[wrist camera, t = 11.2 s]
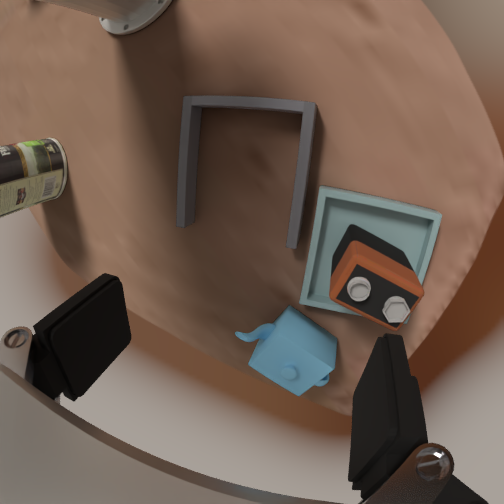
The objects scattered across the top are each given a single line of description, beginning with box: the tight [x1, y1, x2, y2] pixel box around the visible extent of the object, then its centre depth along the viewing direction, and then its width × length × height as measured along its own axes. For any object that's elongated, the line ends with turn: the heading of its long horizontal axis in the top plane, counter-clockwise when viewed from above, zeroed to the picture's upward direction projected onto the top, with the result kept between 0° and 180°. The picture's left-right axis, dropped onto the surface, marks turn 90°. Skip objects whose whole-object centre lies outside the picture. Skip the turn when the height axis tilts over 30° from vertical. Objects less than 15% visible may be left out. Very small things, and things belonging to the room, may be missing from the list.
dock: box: [176, 96, 317, 249], centre depth 29 cm, size 14×13×2 cm
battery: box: [329, 224, 424, 331], centre depth 24 cm, size 4×7×10 cm, turn 68°
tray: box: [299, 185, 442, 324], centre depth 28 cm, size 12×12×2 cm
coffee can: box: [0, 138, 67, 218], centre depth 31 cm, size 10×10×14 cm
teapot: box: [235, 305, 337, 396], centre depth 32 cm, size 12×6×8 cm, turn 57°
